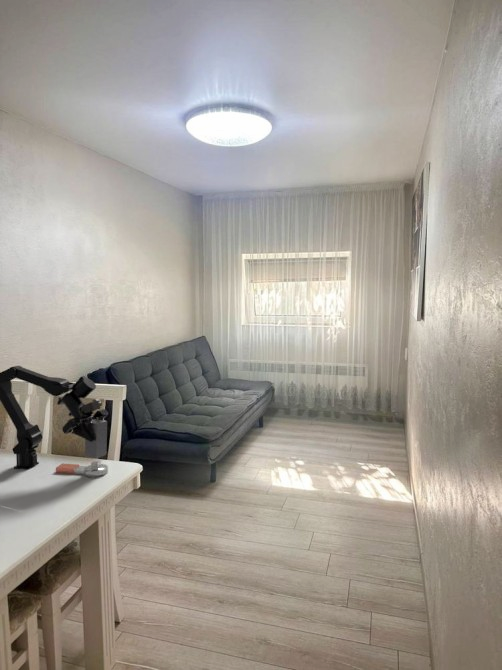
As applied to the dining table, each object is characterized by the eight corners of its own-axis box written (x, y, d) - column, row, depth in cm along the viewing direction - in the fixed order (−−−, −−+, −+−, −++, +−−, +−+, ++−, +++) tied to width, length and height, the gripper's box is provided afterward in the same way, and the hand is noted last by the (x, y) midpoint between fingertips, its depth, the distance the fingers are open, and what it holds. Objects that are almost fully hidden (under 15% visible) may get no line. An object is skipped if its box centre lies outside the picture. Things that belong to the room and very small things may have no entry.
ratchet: (111, 469, 168) (111, 458, 167) (101, 478, 160) (101, 466, 159) (65, 466, 170) (65, 455, 170) (52, 474, 162) (52, 462, 162)
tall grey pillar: (84, 456, 162) (85, 421, 162) (95, 452, 167) (96, 418, 167) (96, 458, 160) (97, 423, 160) (106, 454, 165) (107, 420, 165)
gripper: (67, 398, 155) (92, 432, 151) (104, 388, 172) (127, 419, 169) (51, 417, 158) (75, 451, 155) (89, 406, 176) (111, 436, 172)
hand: (98, 438), depth 163 cm, fingers closed on tall grey pillar, 6 cm apart
